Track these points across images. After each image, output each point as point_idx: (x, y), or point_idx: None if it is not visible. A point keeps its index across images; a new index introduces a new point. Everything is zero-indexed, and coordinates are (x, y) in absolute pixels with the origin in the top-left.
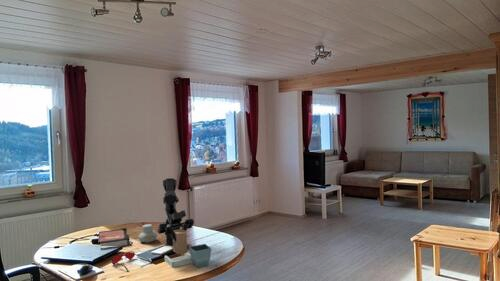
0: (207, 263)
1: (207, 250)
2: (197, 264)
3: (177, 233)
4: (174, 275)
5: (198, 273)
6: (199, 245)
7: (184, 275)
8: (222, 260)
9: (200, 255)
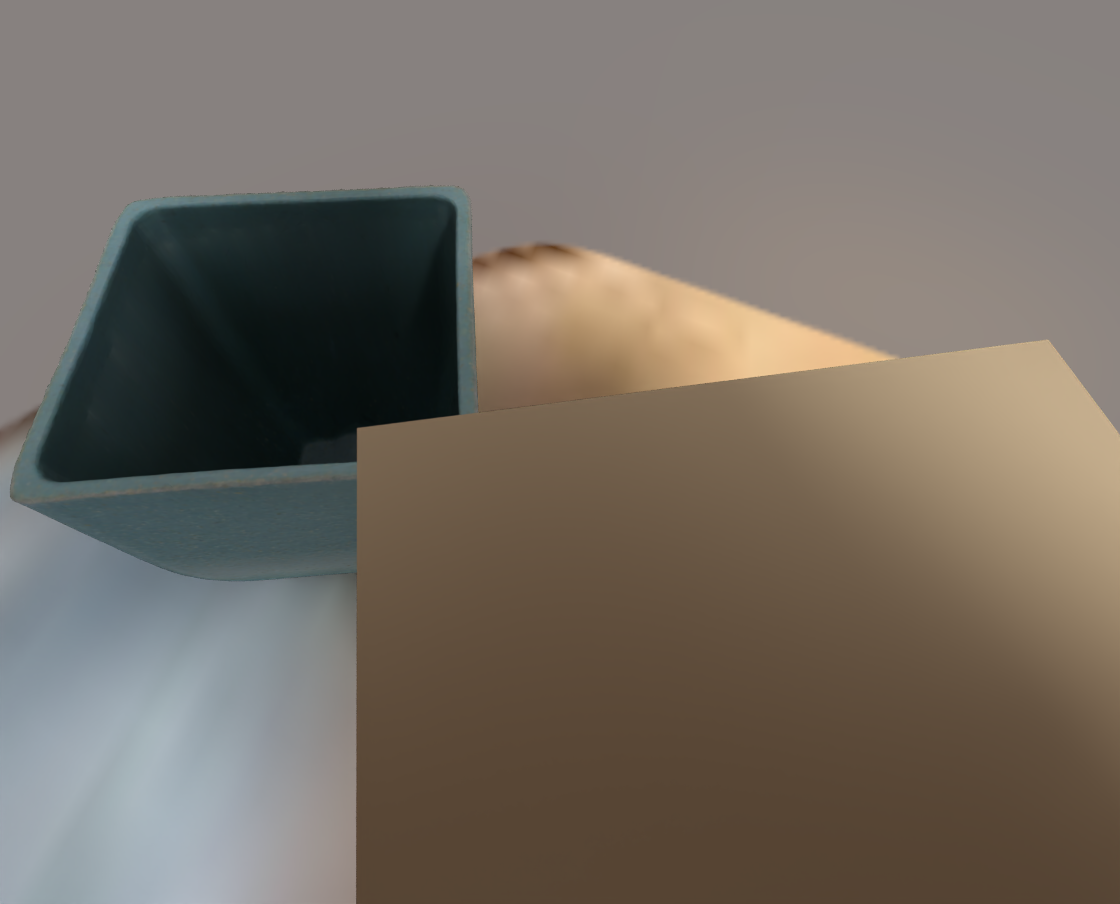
0: (295, 411)
1: (221, 218)
2: (448, 383)
3: (1011, 354)
4: (765, 335)
5: (499, 283)
6: (192, 475)
7: (655, 295)
8: (5, 530)
9: (376, 271)
